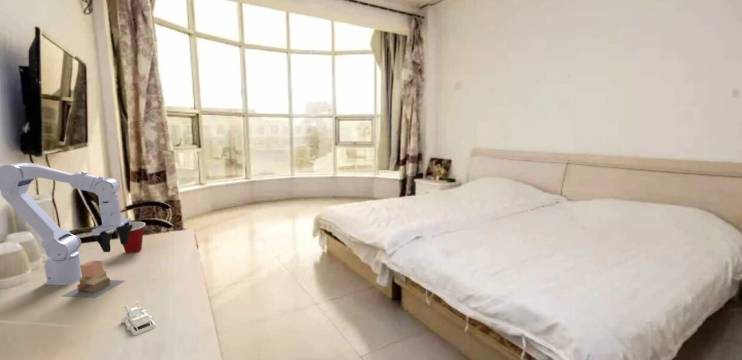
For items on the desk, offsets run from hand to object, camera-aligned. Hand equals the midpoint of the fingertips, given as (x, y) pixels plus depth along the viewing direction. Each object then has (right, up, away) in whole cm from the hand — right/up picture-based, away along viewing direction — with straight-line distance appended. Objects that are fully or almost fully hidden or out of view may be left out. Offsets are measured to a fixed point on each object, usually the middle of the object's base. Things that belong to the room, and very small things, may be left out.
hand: (115, 247), depth 124 cm
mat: (0, -12, -9) cm, 15 cm away
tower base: (0, -12, -9) cm, 15 cm away
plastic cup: (-11, -7, +25) cm, 28 cm away
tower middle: (0, -9, -10) cm, 13 cm away
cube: (0, -7, -10) cm, 12 cm away
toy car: (+28, -16, -29) cm, 43 cm away
